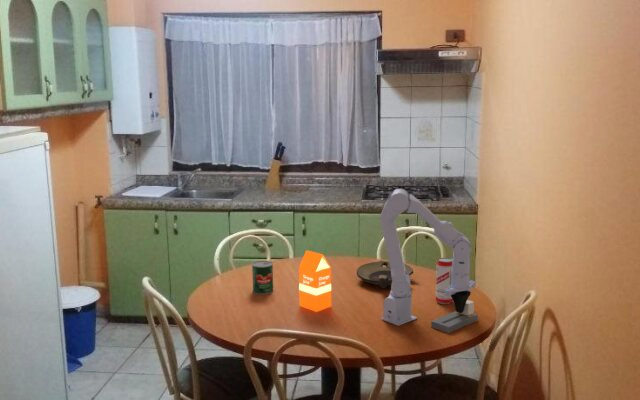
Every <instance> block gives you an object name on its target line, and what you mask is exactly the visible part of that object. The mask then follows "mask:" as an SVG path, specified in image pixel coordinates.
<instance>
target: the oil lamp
mask: <svg viewBox="0 0 640 400" xmlns="http://www.w3.org/2000/svg"><path fill="white" fill-rule="evenodd" d="M404 265H405V268H406V271H407V273H408V274H409V276H410V277H411V275H414V269H413V268H412V267H410V265H408V264H405V263H404ZM356 276H357V277H358V278H359V279H361V280H362V281H364V282H367V283H369V284H373V285H374V286H380V287H381V288H383V289H386V288H387V287H388V286H391V285H392V276H391V268H390V263H389V260H386V261H385V260H380V261H374V262H368V263H364V264H362V265H361V266H359V267H358V268H357V269H356Z"/></svg>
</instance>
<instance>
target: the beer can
mask: <svg viewBox="0 0 640 400" xmlns="http://www.w3.org/2000/svg"><path fill="white" fill-rule="evenodd" d="M452 259H453V258H451V257H439V258H438V260H437V262H436V265H435V266H436V271H435V272H436V273H435V274H436V275H435V301H436V302H437V303H438V304H441V305H450V304H451V303H452V302H453V299H452V297H451V296H450V297H448V296H444V290H445V289H447V288H448V287H449V286H450V285H451V284H452Z"/></svg>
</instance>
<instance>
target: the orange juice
mask: <svg viewBox="0 0 640 400" xmlns="http://www.w3.org/2000/svg"><path fill="white" fill-rule="evenodd" d="M298 281H299V283H298V293H299V307H302V308H304V309H307V310H311V311H313V312H315V313H317V312H320V311H322V310H326V309H328V308H331V307H332V267H331V266H330V264H329V262H328V261H327V259H326V258H325V256H324V254H322V253H318V252H315V251H312V250H305V253H304V254H303V257H302V259H301V262H300V264H299V266H298Z"/></svg>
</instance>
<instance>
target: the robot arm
mask: <svg viewBox="0 0 640 400" xmlns="http://www.w3.org/2000/svg"><path fill="white" fill-rule="evenodd" d="M406 210H407V211H406ZM405 211H406V213H407V214H409V213H410V214H416V215H417V216H418V217H420V218H421V219H422V220H423V221H424V222H425V223H427V224H428V225H429V226H431V227H432V228H433V232H434V235H435V236H436V237H437V238H439V239H440V240H441V241H442V242H443V243H444V244H445V245H446V246H448V247H449V248H451V249H452V251H453V252H452V254H453V255H452V258H451V259H452V284H451V285H450V286H449V287H448V288H447V289H445V290H444V296H448V297H450V296H451V297H452V299H453V301H452V302H453V305H454V309H455V311H456V312H458V313H462V312H463V311H464V307H465V304H466V301H467V300H469V297H470V296H471V295H472V293H471V290H472V289H473V288H475V287H476V281H475V280H472V279H470V273H471V272H470V271H471V269H470V268H471V260H470V257H471V255H470V254H471V253H472V249H473V248H472V245H471V242H470V240H469V238H468V237H467V235H464V233H463V232H460V231H458V229H456V228H455V227H454V225H453V222H451V221H449V222H448V221H447V220H440V219H439V218H438V216H436V215H435V214H434V212H432V211H430V210H429V209H428V207H427V206H426V205H424V204H423V202H421V201H420V200H419V199H418V198H417V197H415V195H413V194H411V193H410V194H409V192H408V190H406V189H404V188H396V189H394V190H393V191H392V192H391V193H390V194H389V195H388V197H387V199H386V200H385V204H384V206H383V208H382V211H381V213H380V216H379V222H380V225H381V231H382V235H383V239H384V244H385V249H386V252H387V257H388V261H389V263H390V268H391V276H392V285H390V289H391V290H390V292H389V295H388V297H386V298H385V299H384V300H383V303H382V304H383V305H382V307H383V308H382V309H383V311H382V312H383V313H382V317H381V318H380V319H381V320H382V321H385V322H387V323H389V324H393V325H395V326H397V327H398V326H399V327H400V326H402V325H405V324H407V323H410V322H412V321H414V320H417V318H418V317H417V316H414V315H412V294H413V293H412V290H411V282H412V281H411V280H412V279H411V275H410V276H409V274H408V273H407V271H406V268H405V265H406V264H405V262H404V259H403V254H402V253H403V252H402V249H401V244H400V239H399V234H398V230H397V225H396V220H397V219H398V217H399V215H401V214H402V213H403V212H405ZM404 264H405V265H404Z"/></svg>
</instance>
